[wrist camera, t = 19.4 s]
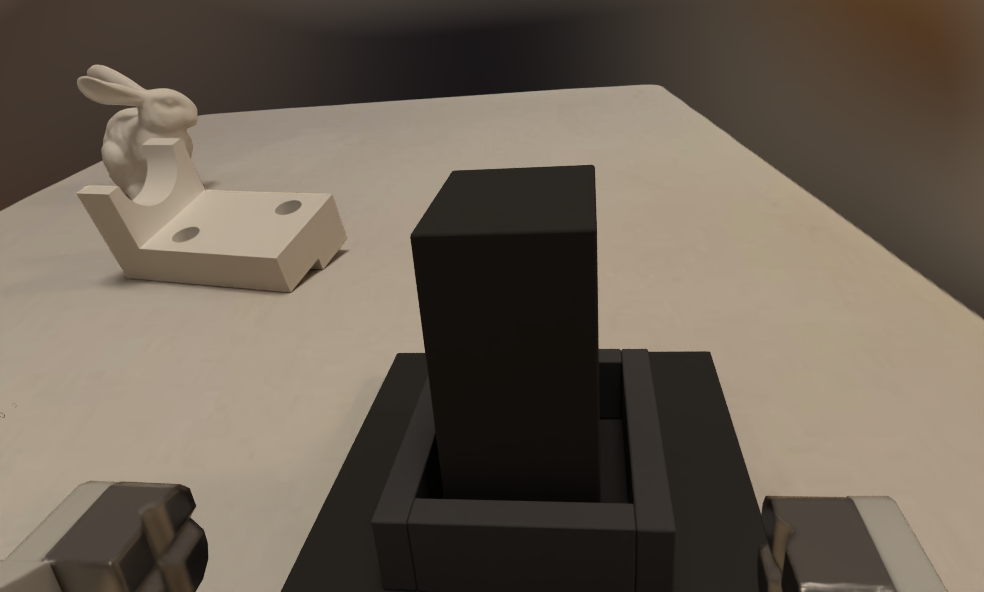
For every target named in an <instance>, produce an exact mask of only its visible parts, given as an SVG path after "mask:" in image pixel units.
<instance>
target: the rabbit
mask: <svg viewBox="0 0 984 592" xmlns="http://www.w3.org/2000/svg"><path fill="white" fill-rule="evenodd" d="M87 75H88V76H83V77H80V78H78V80H77V86H78V88H79V89H80V91H81V92H82V93H83V94H84V95H85V96H86V97H88V98H89V99H91V100H93V101H95V102H98V103H102V104H108V105H130V106H137V108H128V109H124V110H121V111H119V112H118V113H116V114H115V115H114V116H113V117H112V118H111V119H110V120H109V122H108V124H107V127H106V132H105V136H104V139H103V142H104V145H103V147H102V157H103V162H104V165H105V167H106V168H107V171H108V173H109V175H110V178H111V179H112V180H113V182H114V183H115V184H116V185H117V186H119V187H120V189H121V190H122V192H123V193H124V194H126V195H128V196H129V198H130V199H131V200H133V199H134V198H136V197H137V196H138V194H139V193H140V192H141V190H142V189H143V186H144V184H145V181H146V177H147V159H146V154H145V151H144V149H143V146H142V144H144V143H145V142H146V141H148V140H149V139H151V138H181V139H182V142H183V144H184V146H185V148H186V150H187V152H188V154H189V156H190V159H191V157H192V152H193V143H192V140H191V137H190V136H189V135H188V133H187V131H186V130H187V129H188V128H190V127H193V126H194V125H196V123H197V121H198V116H197V108H196V106H195V105H194V104H193V102H192V101H191V100H189V99H188V98H187V97H186V96H184V95H183V94H181V93H179V92H177V91H174V90H171V89H164V88H162V89H153V90H145V89H143V88H142V87H140V86H139V85H138V84H136V83H135V82H134V81H132V80H131V79H129V78H127V77H126V76H124V75H122V74H120V73H119V72H117V71H115V70H113V69H110V68H108V67H106V66H102V65H94V66H92V67H90V68H89V69H88V70H87Z"/></svg>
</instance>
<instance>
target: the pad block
mask: <svg viewBox="0 0 984 592" xmlns="http://www.w3.org/2000/svg"><path fill="white" fill-rule="evenodd" d="M410 238H411V246H412V253H413V261H414V269H415V277H416V284H417V292H418V300H419V308H420V315H421V323H422V331H423V339H424V347H425V354H426V362H427V370H428V378H429V385H430V393H431V401H432V409H433V416H434V424H435V432H436V440H437V447H438V455H439V463H440V471H441V479H442V486H443V494H444V499H461V500H502V501H543V502H585V503H601V487H600V417H599V347H598V277H597V220H596V189H595V167H594V166H593V165H578V166H555V167H531V168H507V169H483V170H460V171H452V173H451V174H450V176H449V177H448V179H447V180H446V182H445V183H444V185H443V186H442V188H441V189H440V191H439V193H438V194H437V196H436V197H435V199H434V200H433V202H432V203H431V205H430V206H429V208H428V209H427V211H426V212H425V214H424V215H423V217H422V218H421V220H420V222H419V223H418V225H417V226H416V228H415V229H414V231H413V232H412V234H411V236H410Z"/></svg>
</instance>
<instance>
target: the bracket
mask: <svg viewBox="0 0 984 592" xmlns="http://www.w3.org/2000/svg"><path fill="white" fill-rule="evenodd" d="M142 146H143V149H144V151H145V154H146V159H147V177H146V181H145V184H144V186H143V189H142V190H141V192H140V193H139V194H138V196H137V197H136V198H134V199H133V200H130V199H129V198H128V197H127V196H126V195H125V194H124V193H123V192H122V190H121V189H120V187H119V186H94V185H87V186H85V187H84V188H83V189H81V190H80V191H79V192H77V193H76V194H77V195H78V197H79V199H80V200H81V202H82V204H83V205H84V207H85V209H86V210H87V212H88V214H89V215H90V217H91V219H92V220H93V222H94V224H95V225H96V227H97V229H98V230H99V232H100V234H101V235H102V237H103V238H104V240H105V242H106V243H107V245H108V247H109V248H110V250H111V252H112V253H113V255H114V257H115V258H116V260H117V262H118V263H119V265H120V267H121V268H122V270H123V272H124V273H125V275H126V277H127V278H133V279H144V280H155V281H166V282H178V283H189V284H200V285H211V286H222V287H234V288H245V289H256V290H267V291H278V292H290V293H291V292H292V291H293V289H294V288H295V287H296V286H297V284H298V283H299V282H300V281H301V279H302V278H303V277H304V276H305V274H306V273H307V272H308V271H309V269H322V270H323V269H324V268H325V267H326V265H327V264H328V263H329V262H330V260H331V259H332V258H333V256H334V255H335V254H336V253H337V251H338V250H339V249H340V247H341V246H342V245H343V244H344V242H345V241H346V240H347V235H346V232H345V229H344V226H343V223H342V221H341V218H340V215H339V212H338V209H337V206H336V203H335V200H334V197H333V195H332V194H315V193H285V192H254V191H224V190H205V188H204V186H203V184H202V182H201V180H200V178H199V175H198V173H197V171H196V169H195V167H194V165H193V163H192V161H191V159H190V156H189V154H188V152H187V150H186V148H185V146H184V144H183V142H182V139H181V138H151V139H149V140H148V141H146V142H145V143H144V144H142Z"/></svg>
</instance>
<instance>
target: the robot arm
mask: <svg viewBox="0 0 984 592" xmlns="http://www.w3.org/2000/svg"><path fill="white" fill-rule="evenodd" d="M195 507H196V504H195V502H194V499H193V496H192V494H191V491H190V488H188V487H185V486H183V485H181V484H164V483H142V482H106V481H89V482H86V483H83V484H80V485H78V486H77V487H76V488H75V489H74V490H73V491H72V492H71V493H70V494H69V495H68V496H67V497H66V498H65V499H64V500H63V501H62V502H61V503H60V504H59V505H58V506H57V507H56V508H55V509H54V510H53V511H52V512H51V513H50V514H49V515H48V516H47V518H46V519H45V520H44V521H43V522H42V523H41V524H40V525H39V526H38V527H37V528H36V529H35V530H34V531H33V532H32V533H31V534H30V535H29V536H28V537H27V538H26V539H25V540H24V541H23V542H22V543H21V544H20V545H19V546H18V547H17V548H16V549H15V550H14V551H13V552H12V553H11V554H10V555H9V556H8V557H7V558H6V559H5V560H0V592H196V590H197V588H198V587H199V585H200V583H201V582H202V580H203V577H204V573H205V569H206V566H207V562H208V542H207V539H206V536H205V532H204V530H203V529H202V528H201V527H200V526H199V525H198V524H197V523H196V522H195V521H194V520H192V519H191V518H190V517H191V515H192V513H193V511H194V509H195ZM761 522H762V525H763V528H764V532H765V535H766V538H767V539H766V540H764V541H763V542H762V543H761V544H760V545H759V546H758V560H757V574H758V589H759V592H948V591H947V589H946V587H945V586H944V584H943V582H942V580H941V579H940V577H939V575H938V574H937V572H936V570H935V568H934V567H933V565H932V563H931V561H930V560H929V558H928V556H927V555H926V553H925V551H924V549H923V548H922V546H921V544H920V542H919V541H918V539H917V537H916V536H915V534H914V532H913V530H912V529H911V527H910V525H909V524H908V522H907V520H906V518H905V517H904V515H903V513H902V511H901V510H900V508H899V506H898V505H897V503H896V501H895V500H893V499H892V498H890V497H889V496H847V497H808V496H766V497H765V499H764V502H763V507H762V516H761Z"/></svg>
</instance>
